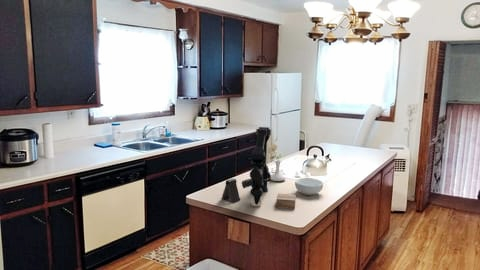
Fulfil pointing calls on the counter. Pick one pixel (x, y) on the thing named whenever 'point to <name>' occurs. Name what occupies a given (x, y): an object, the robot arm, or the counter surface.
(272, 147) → the flower in vase
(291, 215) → the counter surface
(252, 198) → the maple cube
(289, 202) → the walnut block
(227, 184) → the dark grey tapered block
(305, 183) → the cereal bowl
